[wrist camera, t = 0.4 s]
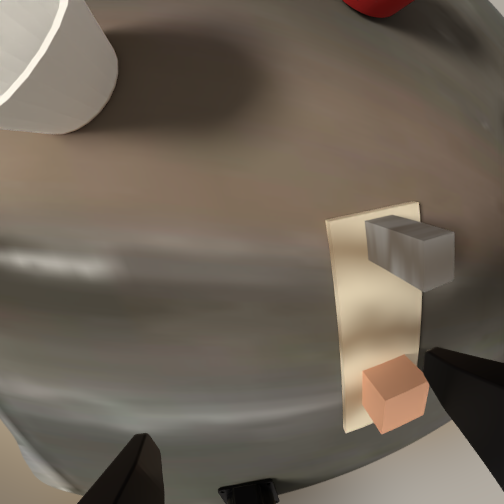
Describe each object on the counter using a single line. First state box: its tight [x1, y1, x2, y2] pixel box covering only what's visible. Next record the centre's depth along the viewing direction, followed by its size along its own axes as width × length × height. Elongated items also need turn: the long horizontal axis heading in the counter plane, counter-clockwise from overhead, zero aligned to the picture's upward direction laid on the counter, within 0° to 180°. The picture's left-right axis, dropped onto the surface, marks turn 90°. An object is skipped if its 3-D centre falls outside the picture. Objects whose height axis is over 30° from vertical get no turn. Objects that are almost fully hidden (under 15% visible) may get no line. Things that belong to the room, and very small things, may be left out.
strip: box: [325, 201, 455, 433], centre depth 21 cm, size 22×8×8 cm, turn 11°
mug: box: [0, 0, 118, 134], centre depth 12 cm, size 11×9×10 cm
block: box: [362, 355, 429, 434], centre depth 23 cm, size 4×4×4 cm
